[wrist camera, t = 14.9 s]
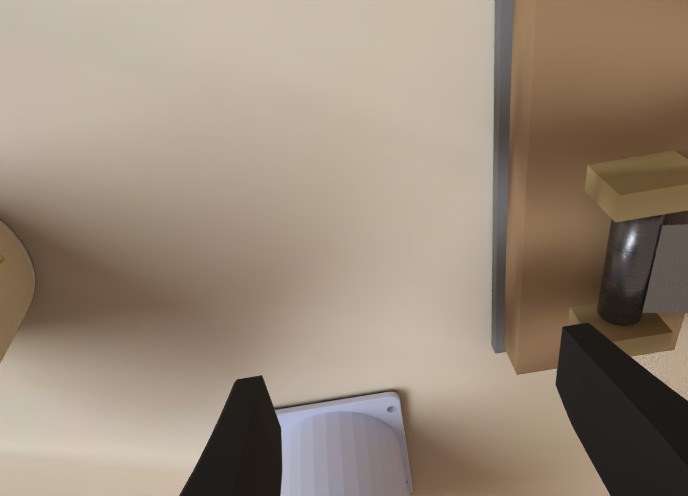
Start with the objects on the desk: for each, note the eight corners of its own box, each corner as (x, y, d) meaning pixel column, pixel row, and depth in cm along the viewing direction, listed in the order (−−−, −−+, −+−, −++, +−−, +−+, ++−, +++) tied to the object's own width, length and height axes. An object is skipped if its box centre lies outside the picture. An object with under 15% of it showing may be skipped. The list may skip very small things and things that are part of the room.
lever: (592, 298, 21) (739, 297, 20) (602, 326, 20) (758, 326, 19) (609, 194, 19) (780, 185, 17) (621, 217, 17) (806, 210, 16)
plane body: (650, 319, 26) (711, 393, 22) (491, 344, 26) (524, 422, 22) (802, -299, 14) (1003, -376, 10) (497, -239, 14) (575, -292, 10)
